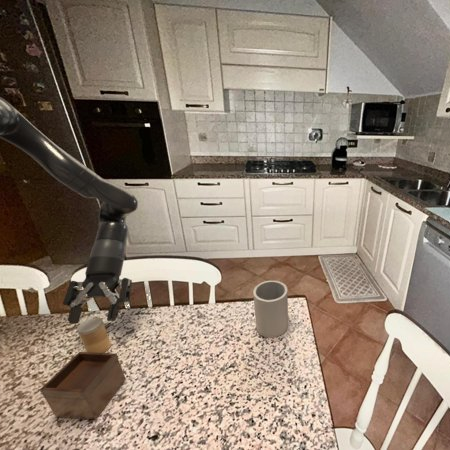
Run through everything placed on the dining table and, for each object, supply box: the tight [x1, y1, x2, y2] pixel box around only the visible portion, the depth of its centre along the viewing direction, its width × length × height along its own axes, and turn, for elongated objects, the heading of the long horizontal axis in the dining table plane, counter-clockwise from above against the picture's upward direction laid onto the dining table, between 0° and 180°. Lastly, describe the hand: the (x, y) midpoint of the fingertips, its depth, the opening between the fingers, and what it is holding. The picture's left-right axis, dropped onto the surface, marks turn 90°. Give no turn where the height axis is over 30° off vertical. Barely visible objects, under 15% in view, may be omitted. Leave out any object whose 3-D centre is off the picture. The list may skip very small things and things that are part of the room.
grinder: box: [76, 316, 112, 353], centre depth 61 cm, size 5×5×8 cm
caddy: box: [39, 351, 127, 420], centre depth 50 cm, size 8×8×8 cm
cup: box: [252, 280, 289, 338], centre depth 68 cm, size 9×9×12 cm
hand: (92, 322), depth 60 cm, fingers open, 8 cm apart
